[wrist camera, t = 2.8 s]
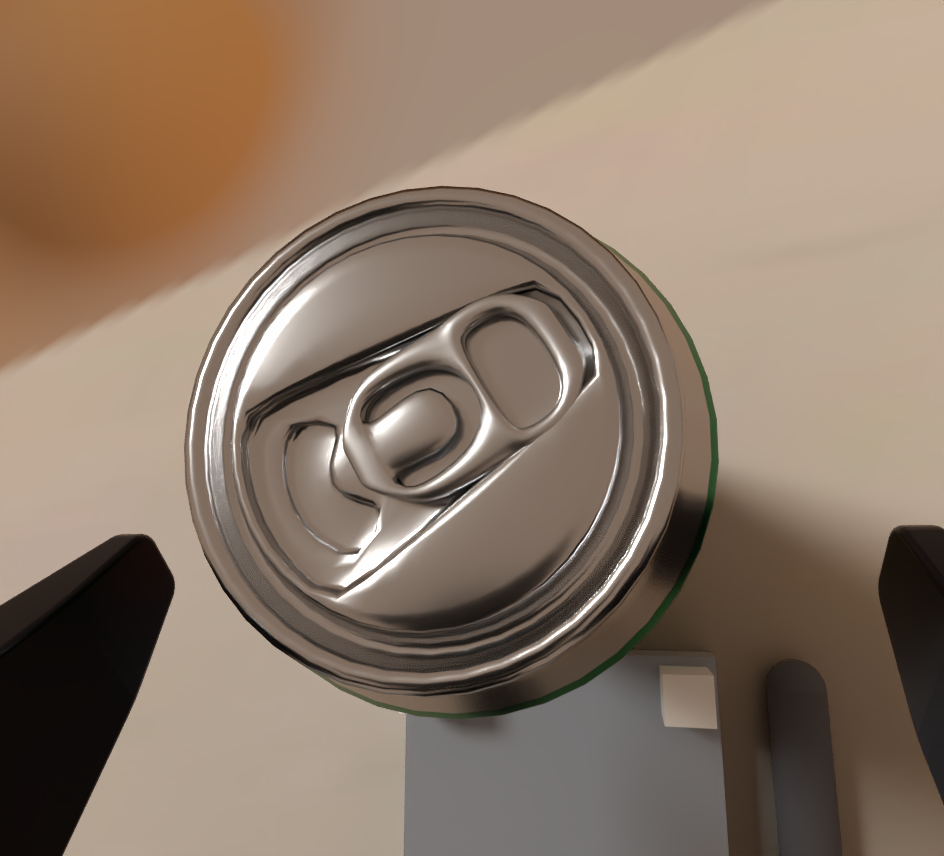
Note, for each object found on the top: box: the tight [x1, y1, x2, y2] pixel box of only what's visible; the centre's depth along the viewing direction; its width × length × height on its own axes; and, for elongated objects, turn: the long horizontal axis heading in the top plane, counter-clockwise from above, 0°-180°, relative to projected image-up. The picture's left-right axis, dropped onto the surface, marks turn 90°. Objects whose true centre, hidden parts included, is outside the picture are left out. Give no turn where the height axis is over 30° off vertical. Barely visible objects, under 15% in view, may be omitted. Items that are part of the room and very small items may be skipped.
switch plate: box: [398, 650, 729, 856], centre depth 15 cm, size 7×7×2 cm
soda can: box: [184, 186, 719, 720], centre depth 11 cm, size 5×5×12 cm
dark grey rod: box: [766, 660, 842, 856], centre depth 14 cm, size 7×1×1 cm, turn 0°
